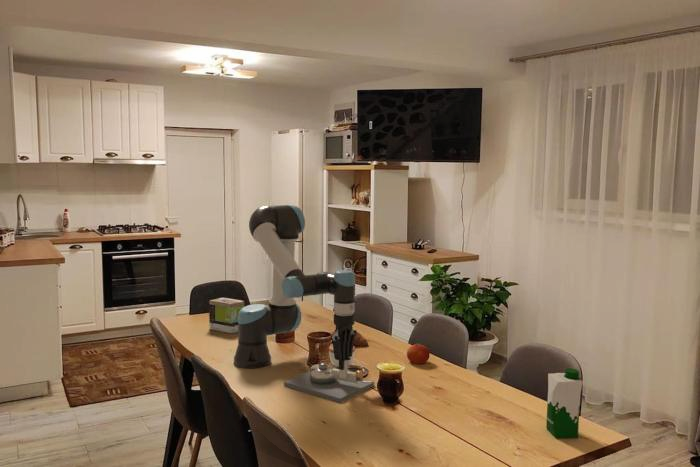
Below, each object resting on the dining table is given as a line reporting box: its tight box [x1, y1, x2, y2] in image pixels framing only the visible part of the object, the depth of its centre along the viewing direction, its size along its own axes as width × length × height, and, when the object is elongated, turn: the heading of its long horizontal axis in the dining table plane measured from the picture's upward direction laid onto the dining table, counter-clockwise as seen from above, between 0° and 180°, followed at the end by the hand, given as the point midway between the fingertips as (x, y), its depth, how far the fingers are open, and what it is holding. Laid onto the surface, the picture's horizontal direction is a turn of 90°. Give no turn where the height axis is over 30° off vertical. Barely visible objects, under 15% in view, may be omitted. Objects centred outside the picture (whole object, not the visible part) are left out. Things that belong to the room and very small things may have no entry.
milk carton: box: [545, 368, 584, 439], centre depth 184 cm, size 9×9×20 cm
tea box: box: [208, 297, 245, 334], centre depth 295 cm, size 15×10×15 cm, turn 58°
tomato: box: [406, 343, 431, 364], centre depth 250 cm, size 9×9×8 cm
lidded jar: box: [328, 344, 356, 368], centre depth 244 cm, size 11×11×9 cm
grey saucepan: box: [309, 362, 364, 384], centre depth 220 cm, size 22×10×6 cm, turn 63°
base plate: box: [283, 370, 375, 403], centre depth 221 cm, size 26×21×2 cm
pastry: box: [330, 330, 369, 347], centre depth 277 cm, size 17×15×8 cm
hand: (343, 377), depth 217 cm, fingers closed
